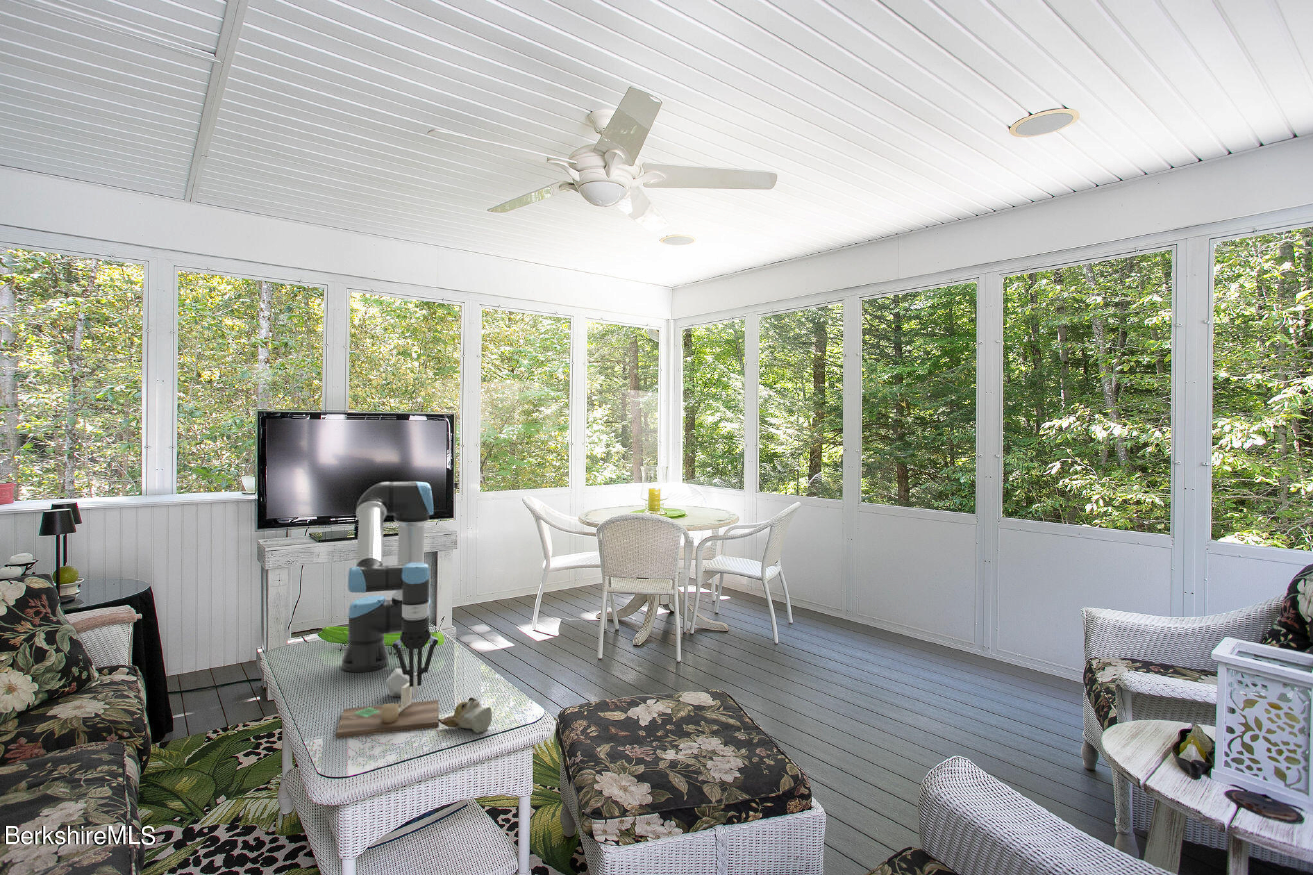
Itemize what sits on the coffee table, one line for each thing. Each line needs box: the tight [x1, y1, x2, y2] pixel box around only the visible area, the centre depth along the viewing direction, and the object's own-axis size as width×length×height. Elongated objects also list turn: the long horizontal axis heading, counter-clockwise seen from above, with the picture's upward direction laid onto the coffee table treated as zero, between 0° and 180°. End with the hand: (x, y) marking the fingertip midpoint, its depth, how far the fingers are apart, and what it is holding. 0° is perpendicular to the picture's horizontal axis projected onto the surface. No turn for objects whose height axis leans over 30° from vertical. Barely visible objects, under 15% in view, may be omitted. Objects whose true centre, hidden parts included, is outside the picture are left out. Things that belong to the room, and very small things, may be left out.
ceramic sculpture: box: [438, 697, 493, 734], centre depth 185 cm, size 11×9×15 cm
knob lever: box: [381, 683, 413, 723], centre depth 189 cm, size 14×4×6 cm, turn 174°
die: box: [384, 668, 414, 698], centre depth 207 cm, size 8×9×10 cm
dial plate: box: [335, 699, 440, 739], centre depth 188 cm, size 16×26×2 cm, turn 109°
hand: (415, 696), depth 194 cm, fingers closed
